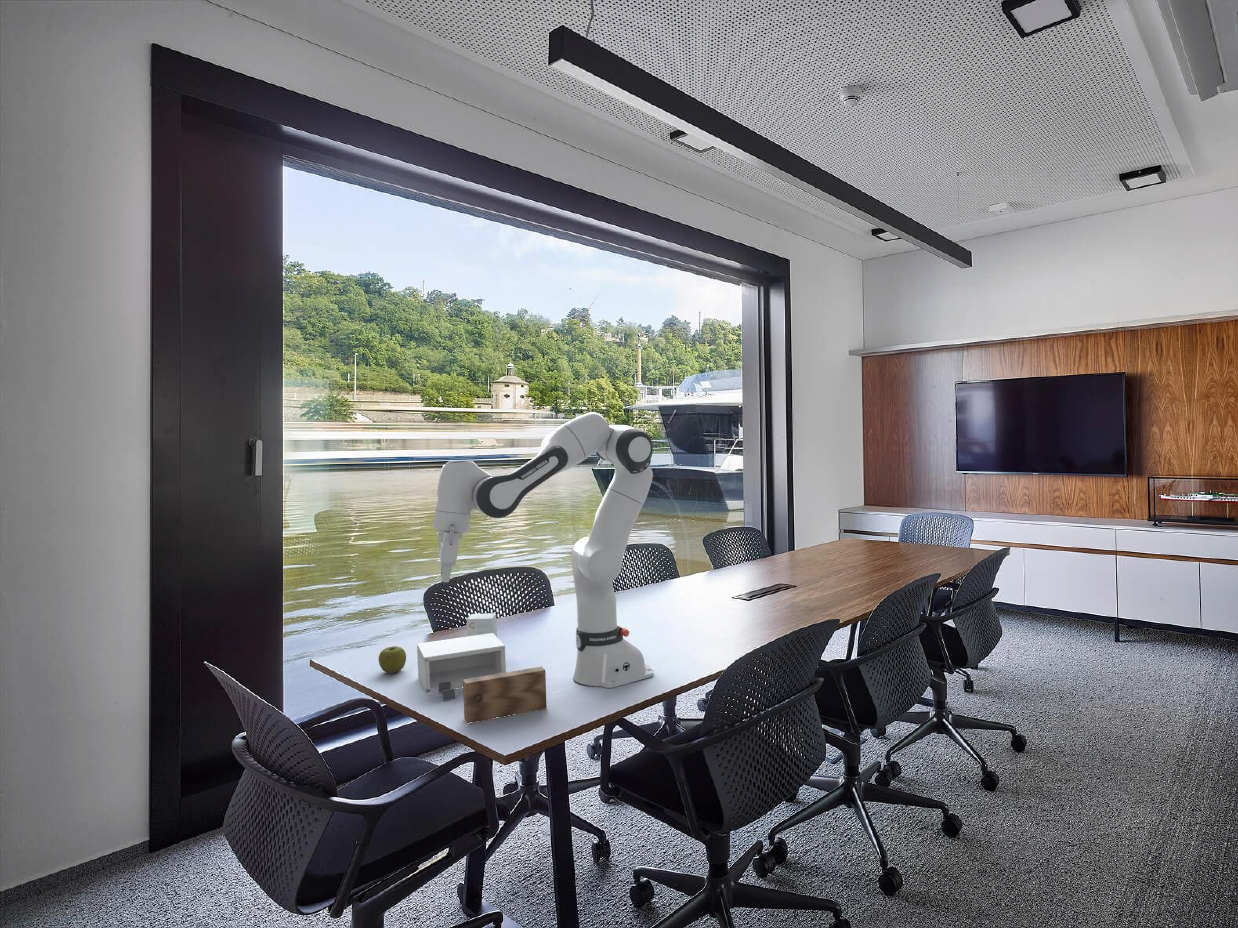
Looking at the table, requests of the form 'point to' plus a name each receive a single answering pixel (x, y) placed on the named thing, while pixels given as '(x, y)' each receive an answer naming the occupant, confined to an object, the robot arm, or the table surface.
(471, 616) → the small box
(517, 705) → the door
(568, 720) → the table surface
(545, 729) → the table surface
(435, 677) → the cabinet
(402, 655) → the apple
